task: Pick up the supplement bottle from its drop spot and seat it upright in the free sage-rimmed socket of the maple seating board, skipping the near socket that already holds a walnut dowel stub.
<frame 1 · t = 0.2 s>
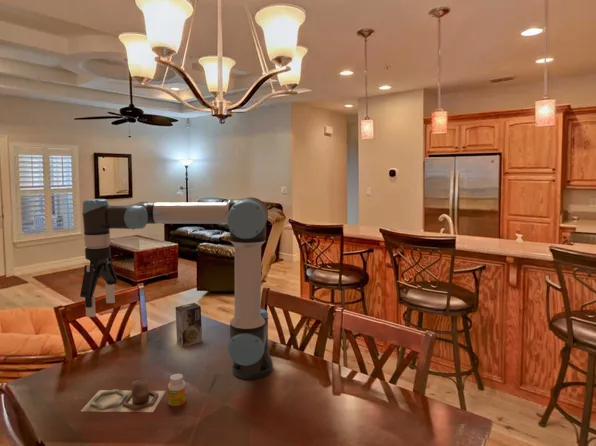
hand: (101, 309, 138), 28 cm above the table, fingers open, 13 cm apart
coffee box: (189, 342, 178), on the table
seating board: (125, 405, 131), on the table
walnut dowel stub: (140, 400, 130), point 1 cm above the table, touching seating board
supplement bottle: (177, 406, 131), on the table
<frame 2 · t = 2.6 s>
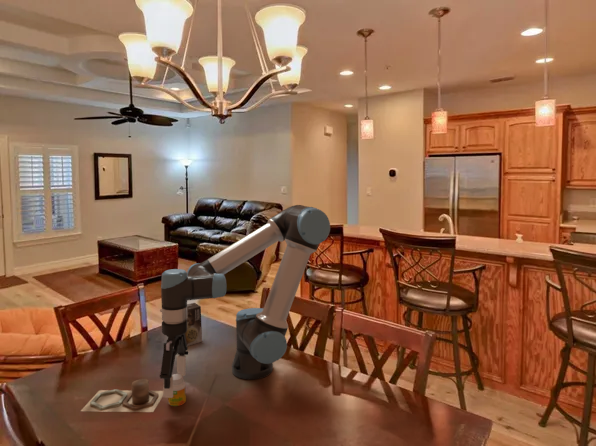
hand: (175, 385, 130), 7 cm above the table, fingers open, 13 cm apart
nothing on the table moved.
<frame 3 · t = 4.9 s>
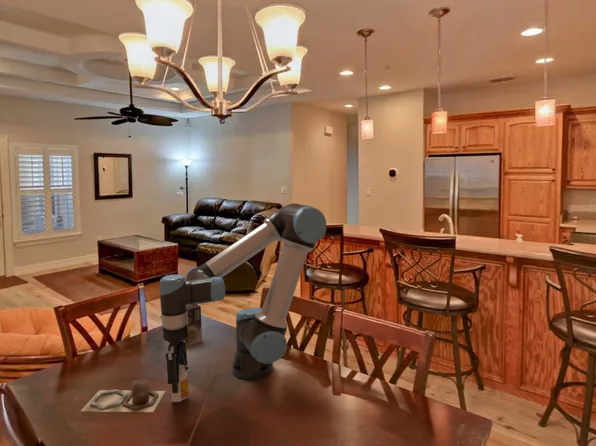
hand: (179, 395, 131), 3 cm above the table, fingers closed on supplement bottle, 5 cm apart
supplement bottle: (180, 397, 131), point 3 cm above the table, touching gripper
everything else where it was.
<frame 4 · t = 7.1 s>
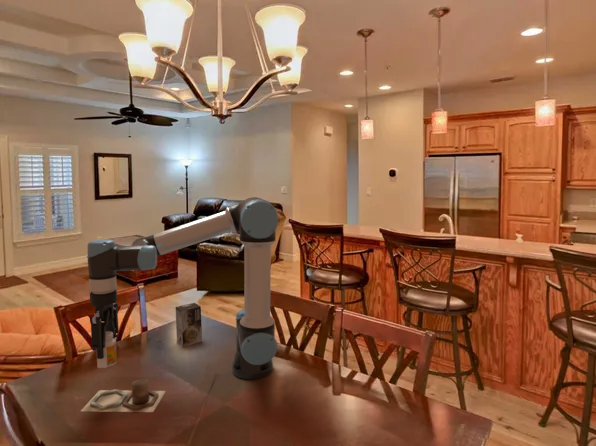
hand: (107, 362, 129), 14 cm above the table, fingers closed on supplement bottle, 5 cm apart
supplement bottle: (107, 364, 129), point 14 cm above the table, touching gripper
everything else where it was.
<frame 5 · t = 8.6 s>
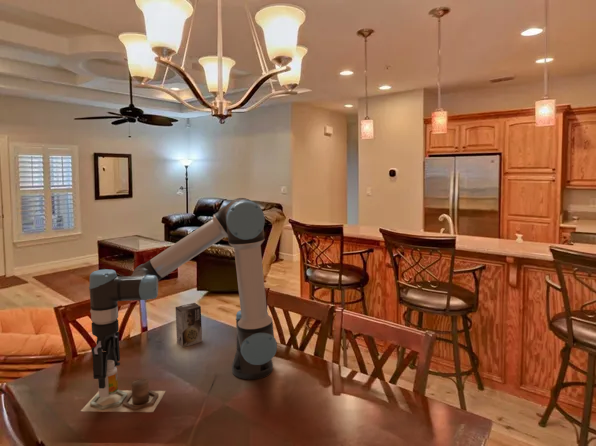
hand: (108, 391, 130), 5 cm above the table, fingers closed on supplement bottle, 5 cm apart
supplement bottle: (108, 392, 130), point 4 cm above the table, touching gripper
everything else where it was.
when the fingers open (4 cm above the table, at t = 9.6 s): supplement bottle drops 2 cm, resting on seating board.
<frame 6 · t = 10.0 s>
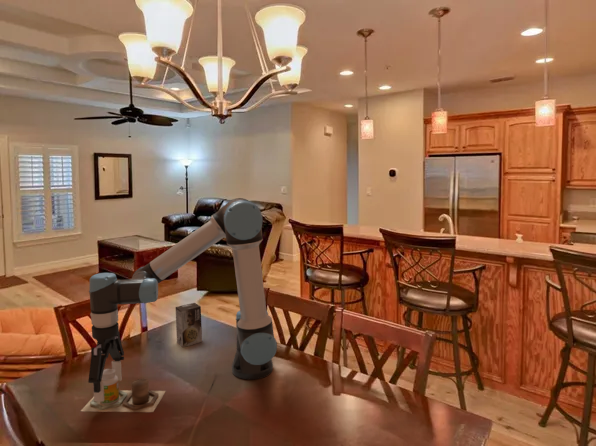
hand: (108, 390, 130), 5 cm above the table, fingers open, 11 cm apart
supplement bottle: (109, 400, 131), point 1 cm above the table, touching seating board
everything else where it was.
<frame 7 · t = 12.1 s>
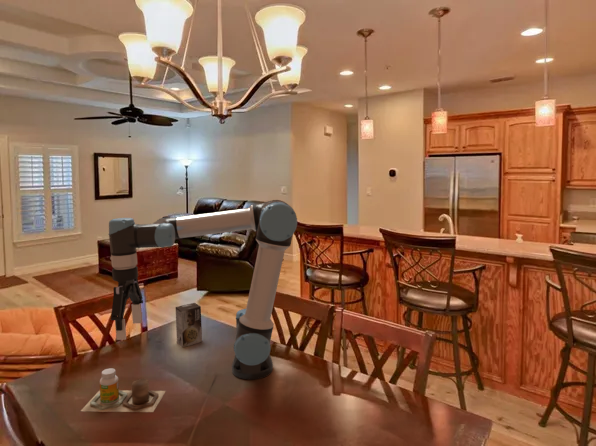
hand: (129, 330, 134), 22 cm above the table, fingers open, 13 cm apart
nothing on the table moved.
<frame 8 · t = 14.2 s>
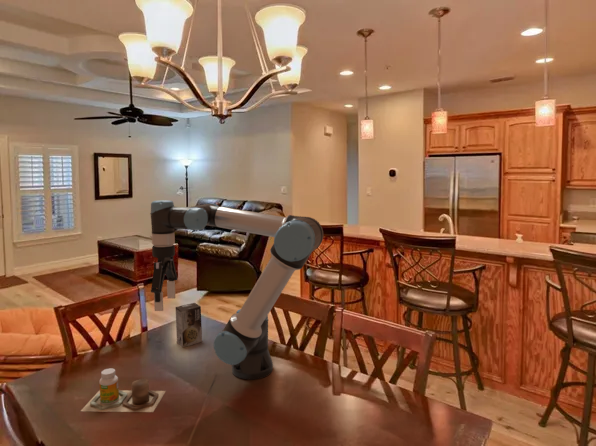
hand: (165, 304, 146), 27 cm above the table, fingers open, 13 cm apart
nothing on the table moved.
at the end: supplement bottle 0.2 cm from the target spot on the seating board, point 1.3 cm above the seating board's base; supplement bottle tilted 0°; the gripper is holding nothing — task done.
